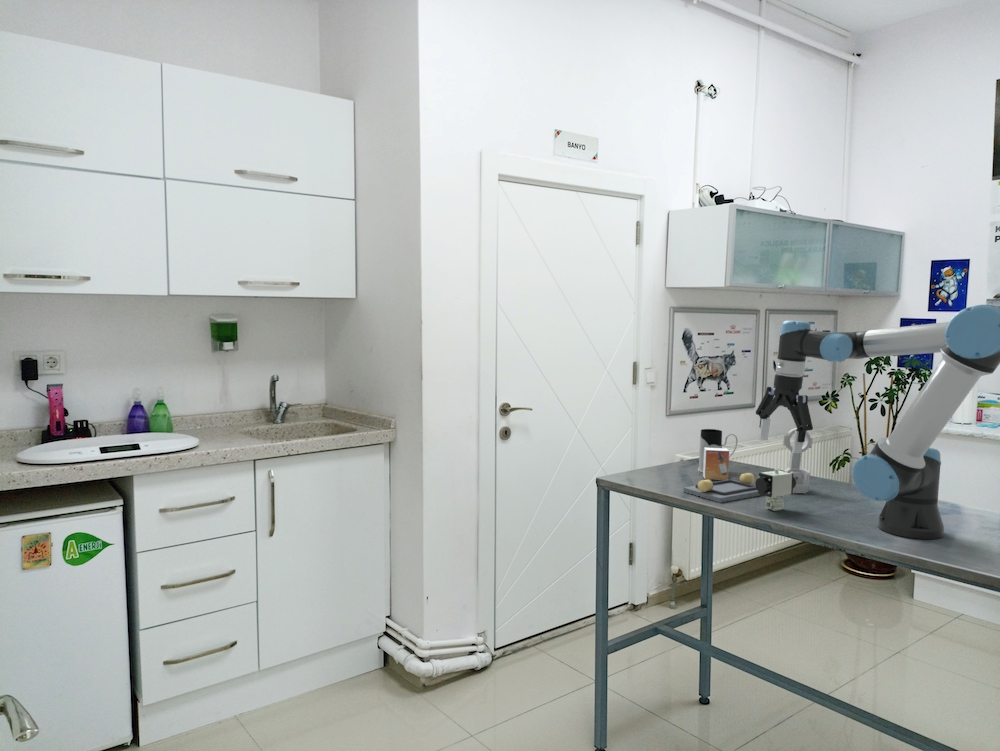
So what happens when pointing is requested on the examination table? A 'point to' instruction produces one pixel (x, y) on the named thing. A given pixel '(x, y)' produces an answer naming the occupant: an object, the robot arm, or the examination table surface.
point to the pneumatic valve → (775, 487)
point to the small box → (716, 463)
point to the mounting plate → (725, 489)
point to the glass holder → (711, 443)
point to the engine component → (798, 463)
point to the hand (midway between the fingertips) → (779, 446)
